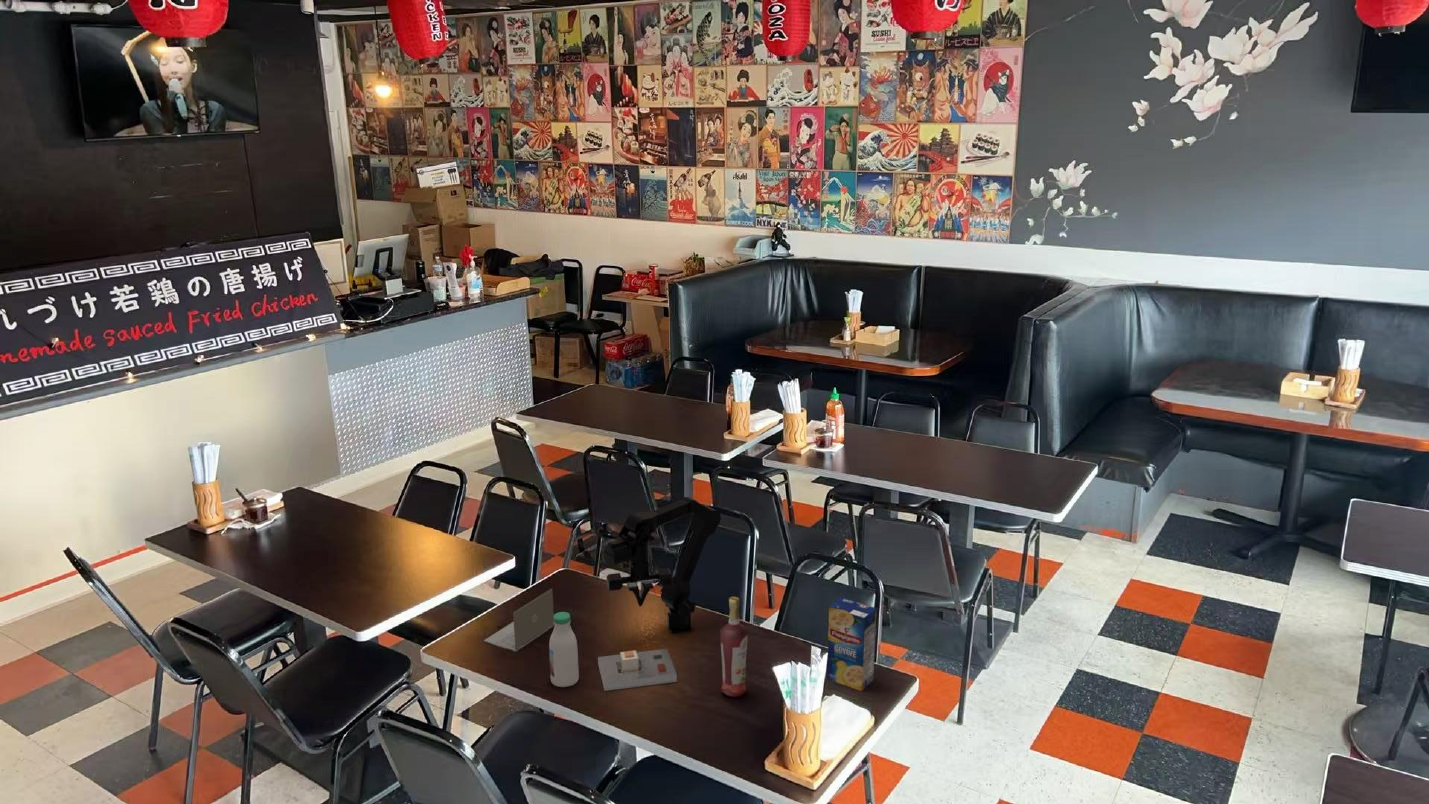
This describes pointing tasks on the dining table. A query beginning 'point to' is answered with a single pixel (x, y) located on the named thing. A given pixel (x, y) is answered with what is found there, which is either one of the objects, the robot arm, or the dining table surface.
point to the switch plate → (652, 671)
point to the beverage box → (851, 643)
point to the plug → (629, 661)
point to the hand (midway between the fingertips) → (640, 605)
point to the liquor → (733, 652)
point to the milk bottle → (563, 652)
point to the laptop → (526, 624)
